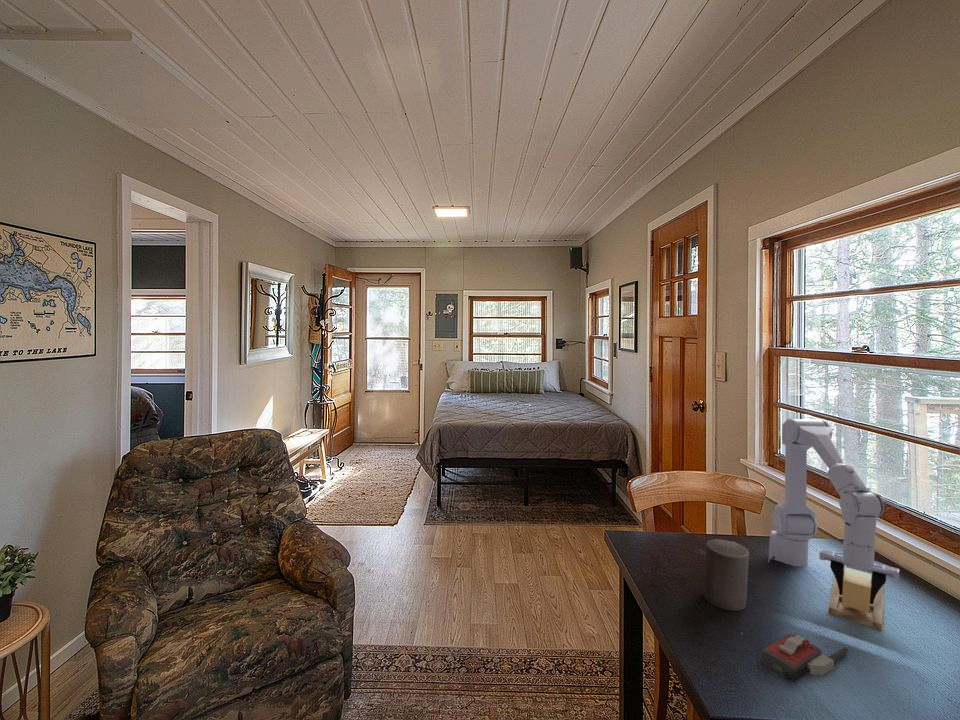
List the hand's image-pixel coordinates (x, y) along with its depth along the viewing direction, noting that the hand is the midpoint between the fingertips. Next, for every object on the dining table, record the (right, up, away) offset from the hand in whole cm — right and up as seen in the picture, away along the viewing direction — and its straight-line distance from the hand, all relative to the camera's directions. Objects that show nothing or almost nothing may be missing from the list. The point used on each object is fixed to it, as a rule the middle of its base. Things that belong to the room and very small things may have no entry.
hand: (855, 597), depth 109 cm
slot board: (+5, -5, +6) cm, 9 cm away
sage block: (+5, -3, +6) cm, 9 cm away
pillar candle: (-27, -5, +7) cm, 29 cm away
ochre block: (0, -2, 0) cm, 2 cm away
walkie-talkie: (-22, -6, -14) cm, 27 cm away
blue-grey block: (+11, -3, +12) cm, 16 cm away
